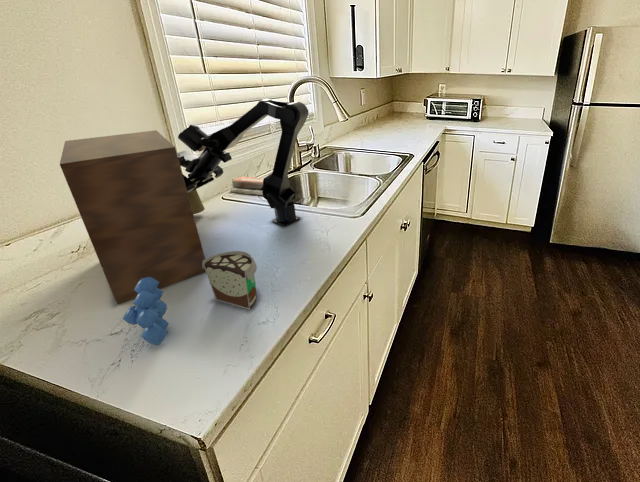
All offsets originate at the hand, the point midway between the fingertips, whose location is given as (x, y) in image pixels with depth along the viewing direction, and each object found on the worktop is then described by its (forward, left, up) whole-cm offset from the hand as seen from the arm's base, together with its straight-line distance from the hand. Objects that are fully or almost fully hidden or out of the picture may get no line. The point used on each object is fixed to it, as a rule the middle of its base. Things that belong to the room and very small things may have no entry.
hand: (185, 192), depth 108 cm
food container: (-52, +15, -9) cm, 55 cm away
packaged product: (+3, -27, -9) cm, 28 cm away
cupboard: (-21, +19, -9) cm, 30 cm away
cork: (-1, -1, -7) cm, 7 cm away
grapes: (-48, +31, -9) cm, 58 cm away
